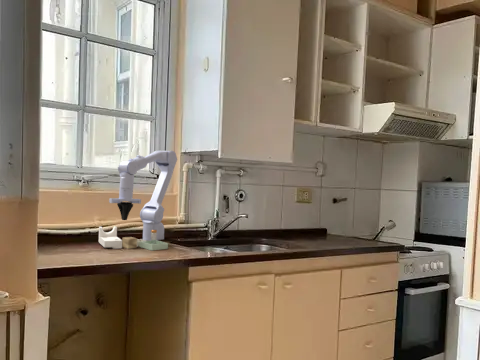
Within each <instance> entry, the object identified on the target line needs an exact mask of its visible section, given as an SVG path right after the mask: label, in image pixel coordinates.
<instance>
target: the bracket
mask: <svg viewBox="0 0 480 360" xmlns="http://www.w3.org/2000/svg"><path fill="white" fill-rule="evenodd" d="M98 243H99V244H100V245H101V246H102V247H103V248H112V249H113V250H114V249H119V250H120V249H123V247H122V239H121V238H120V237H118V227H117V226H116V225H115V226H113V228H112V230H111V231H108V232H106V231H104V229H103V226H98Z"/></svg>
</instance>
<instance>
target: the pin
mask: <svg viewBox="0 0 480 360" xmlns="http://www.w3.org/2000/svg"><path fill="white" fill-rule="evenodd" d="M156 236H157V230H151V244H156Z"/></svg>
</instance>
